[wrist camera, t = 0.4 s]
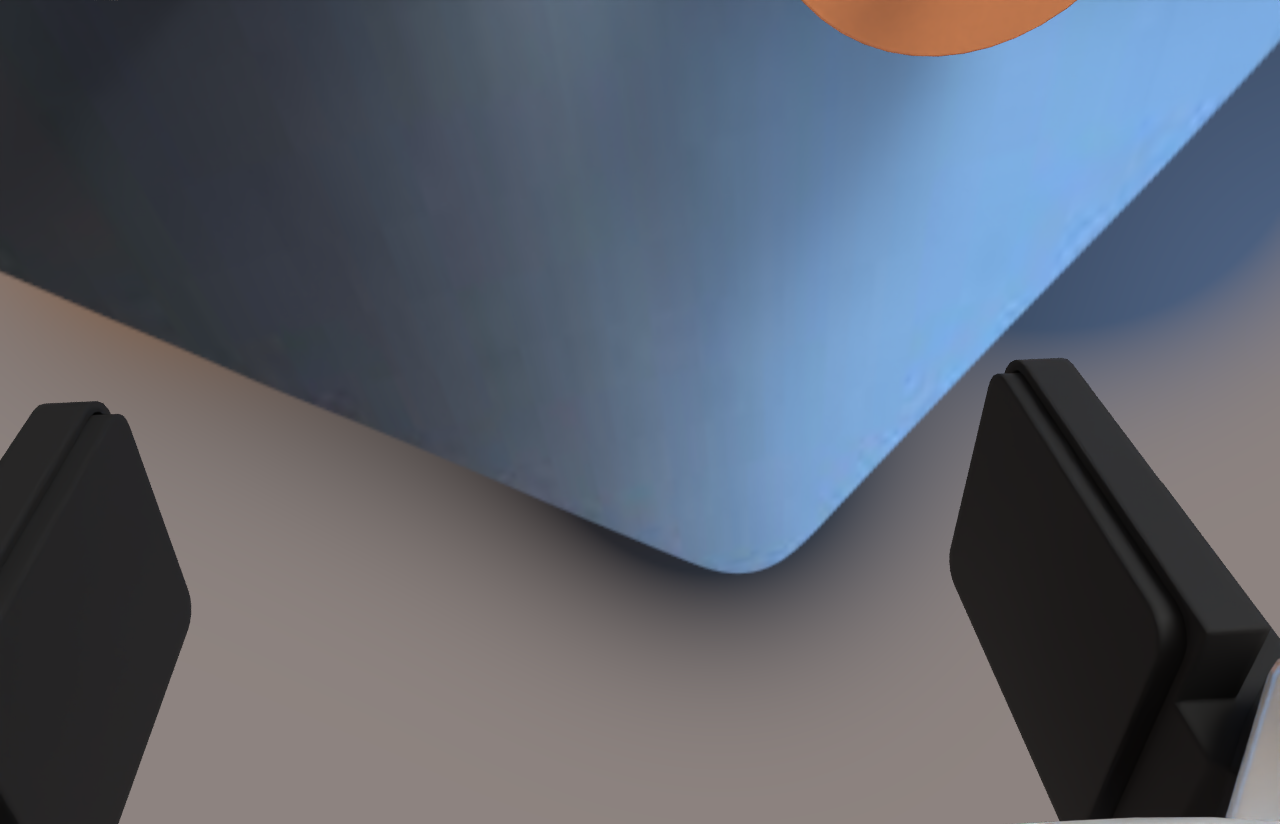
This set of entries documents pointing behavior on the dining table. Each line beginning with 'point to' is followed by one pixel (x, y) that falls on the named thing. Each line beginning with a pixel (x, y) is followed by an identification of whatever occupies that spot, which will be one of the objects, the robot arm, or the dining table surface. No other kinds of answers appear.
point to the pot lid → (935, 22)
